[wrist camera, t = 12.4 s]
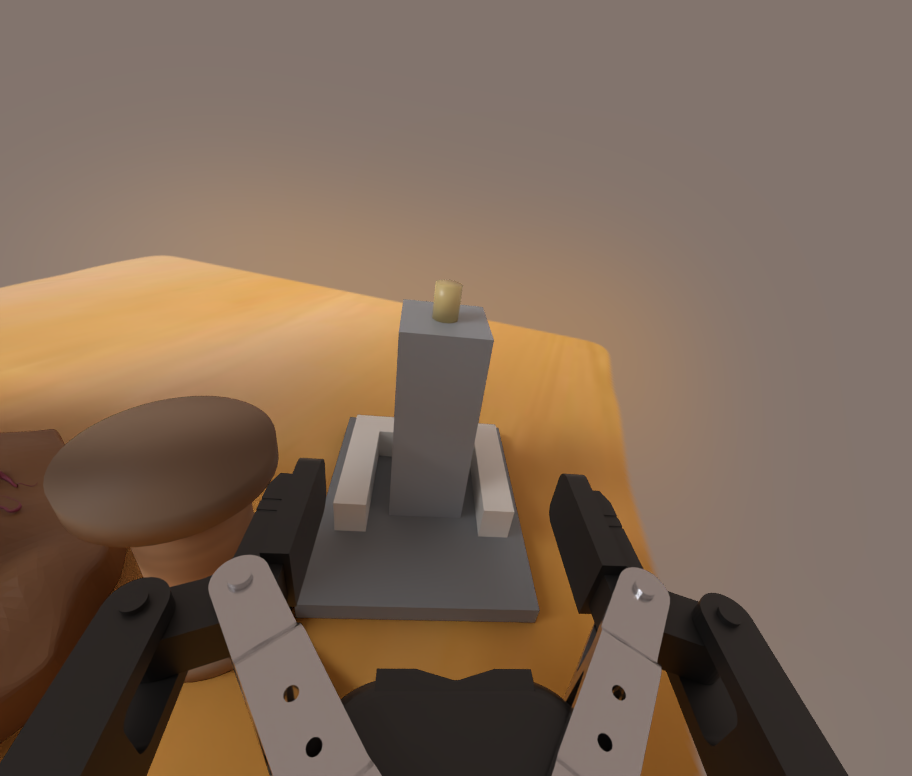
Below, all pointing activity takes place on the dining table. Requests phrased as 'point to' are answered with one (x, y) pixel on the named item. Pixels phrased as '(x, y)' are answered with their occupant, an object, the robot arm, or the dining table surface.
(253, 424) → the bobbin
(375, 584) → the grey u-shaped stand base
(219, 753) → the dining table surface
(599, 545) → the robot arm
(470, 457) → the gray block with knob
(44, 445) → the plant
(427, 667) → the dining table surface
